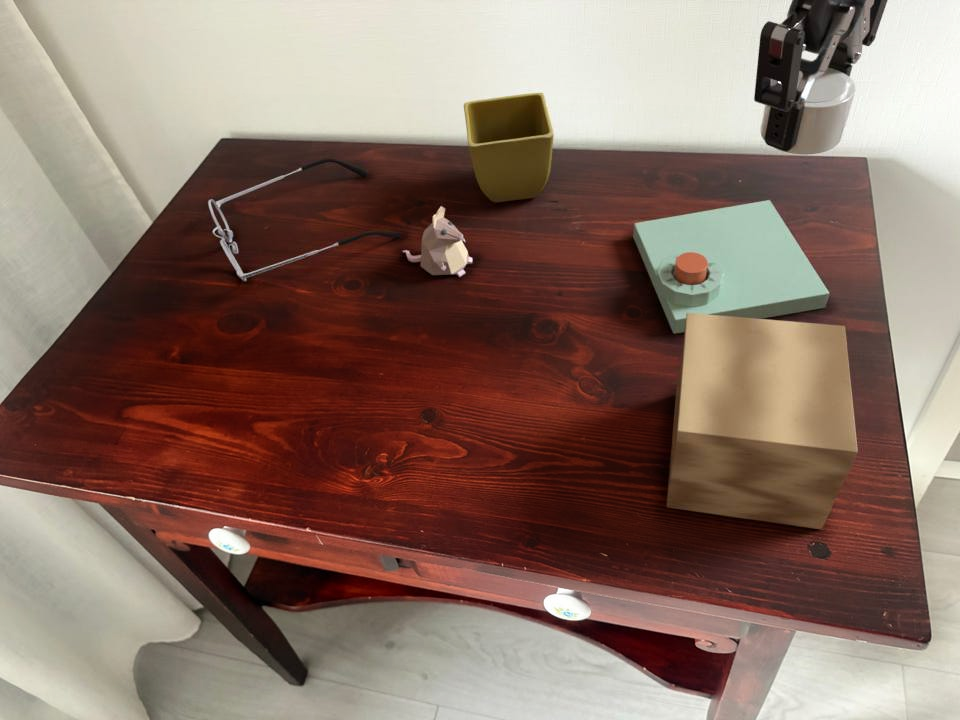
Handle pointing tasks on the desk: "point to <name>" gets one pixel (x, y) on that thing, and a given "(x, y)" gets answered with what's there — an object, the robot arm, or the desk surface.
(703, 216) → the scale
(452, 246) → the mouse figurine
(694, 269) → the button
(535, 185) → the flower pot
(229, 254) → the eyeglasses
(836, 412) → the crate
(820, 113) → the ramekin
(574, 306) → the desk surface
